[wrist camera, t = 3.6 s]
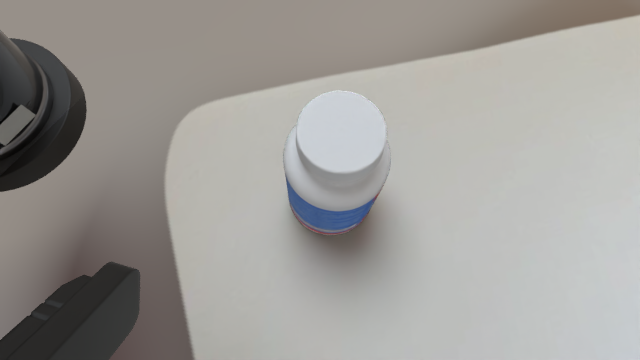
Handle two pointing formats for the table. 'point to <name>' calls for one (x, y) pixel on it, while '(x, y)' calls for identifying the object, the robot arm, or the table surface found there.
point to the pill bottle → (336, 161)
